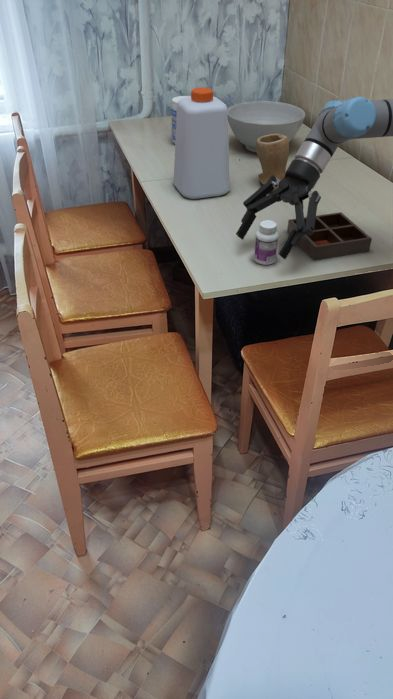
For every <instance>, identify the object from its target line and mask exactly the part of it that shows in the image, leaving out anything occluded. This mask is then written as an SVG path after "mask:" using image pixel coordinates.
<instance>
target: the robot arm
mask: <svg viewBox="0 0 393 699" xmlns="http://www.w3.org/2000/svg"><path fill="white" fill-rule="evenodd" d="M386 137H387V138H388V137H393V98H389V99H388V98H387V99H386V98H385V99H373V100H372V99H368V98H366V97H364V96H356V97H355V96H354V97H352V98H348V99H346V101H341V100H330V101H328V102H327V103H326V104H325V105H324V107H323V109H322V110H321V111H319V113H318V116H317V118H316V120H315V121H314V123H313V125H312V127H311V129H310V130H309V131H308V133H307V136H306V137H305V139H304V140H303V142H302V143H301V145H300V147H299V149H298V150H297V152H296V153H295V154H294V159H292V160H291V162H290V164H289V165H288V167H287V168H286V173H285V176H284V178H283V179H282V180H279V179H277V178H276V177H275V176H274V175H272V176H271V177H270V178H269V180H268V181H267V183H265V184H264V185H263V184H262V186H261V187H260V188H258V189H257V190H255V191H254V193H252V194H251V195H250V196H249V197H247V198H246V199H245V200H244V201H243V203H242V205H243V206H244V207H245V208H246V211H245V213H244V215H243V216H242V218H241V221H240V222H241V224H240V226H239V228H238V230H237V231H236V233H235V235H236V236H237V237H238V238H239V239H241V240H244V239H245V237H246V235H247V234H248V232H249V231H250V229H251V227H252V225H253V223H254V222H255V220H256V218H257V215H256V214H257V213H260V212H261V211H263V210H264V209H266V208H268V207H269V206H272V205H274V204H275V203H279V202H283V203H285V204H286V203H287V204H289V205H291V206H294V213H295V219H296V224H297V228H296V229H297V231H296V230H294V229H293V230H292V232H291V234H290V235H289V234H288V237H287V238H286V240H285V242H284V244H283V245H282V247H281V248H280V250H279V252H278V255H279V256H280V257H281V258H282V259H284V260H286V259H287V257H288V256H289V254H290V252H291V251H292V249H293V247H294V248H297V246H298V245H299V244H298V243H299V242H300V240H301V238H302V237H303V236H304V235H310V236H311V235H313V233H314V226H315V219H316V216H317V210H318V205H319V204H320V201H321V199H322V196H321V195H320V193H319V192H318V191H317V190H313V189H314V188H315V187H316V184H317V182H318V181H319V179H320V178H321V174H323V172H324V171H325V169H326V167H327V166H328V164H329V162H331V159H332V157H333V156H334V154H335V152H336V151H337V149H338V148H339V147H340V145H341V144H343V143H345V142H347V141H351V140H357V139H358V140H359V139H361V140H362V139H371V138H373V139H375V138H386ZM277 186H279V188H277ZM274 188H277V189H275V190H274ZM273 190H274V191H273ZM312 190H313V191H312ZM306 199H308V205H307V210H306V211H307V212H306V217H307V218H306V226H305V221H304V217H305V213H304V208H305V207H304V200H306Z"/></svg>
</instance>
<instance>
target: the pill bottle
mask: <svg viewBox="0 0 393 699" xmlns="http://www.w3.org/2000/svg"><path fill="white" fill-rule="evenodd" d="M277 224H278V223H277V222H275V221H273V220H269V219H267V220H262V221H260V222H259V229H258V230H257V231H256V234H255V244H254V256H253V259H254V261H255V262H256V263H257V264H259V265H263V266H269V265H273V264H274V263H275V262H276V261H277V255H278V245H279V244H278V243H279V232H278V230H277V228H278V225H277Z"/></svg>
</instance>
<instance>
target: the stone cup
mask: <svg viewBox="0 0 393 699" xmlns="http://www.w3.org/2000/svg"><path fill="white" fill-rule="evenodd" d="M256 150H257V153H256V155H257V159H258V162H259V163H260V166H261V167H260V168H261V171H262V172H261V173H259V174H258V180H259V182H260V183H261V184H262V186H263V185H264V184H265V183H267V181H268V180H269V178H270V177H271V176H272V175H274V176H275V177H276V178H277V179H279V180H282V179H283V178H284V176H285V173H286V171H287V164H288V161H289V155H290V141H288V138H287V137H286V136H284V135H282V134H269V135H264V136H262V137H260V138H258V139H257V141H256ZM277 188H279V186H277ZM277 188H274V190H275V189H277ZM274 190H273V191H274Z"/></svg>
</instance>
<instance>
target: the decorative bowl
mask: <svg viewBox="0 0 393 699" xmlns="http://www.w3.org/2000/svg"><path fill="white" fill-rule="evenodd" d="M227 109H228V126H229V127H230V129H231V131H232V134H234V137H236V138H237V140H238V141H239V142H240V143H241V144H242V145H244V146H245V148H246V150H247V151H250V152H252V153H255V154H257V150H256V141H257V139H258V138H260V137H262V136H264V135H269V134H282V135H284V136H286V137H287V138H288V141H289V142H290V141H292V139H293V138H294V137H295V136H296V135H297V133H298V132H299V131H300V129H301V127H302V126H303V123H304V121H305V118H306V112H305V110H303V108H301V107H299V106H296V105H294V104H290V103H286V102H282V101H273V100H251V101H243V102H239V103H235V104H232V105H231V106H229V107H227Z"/></svg>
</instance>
